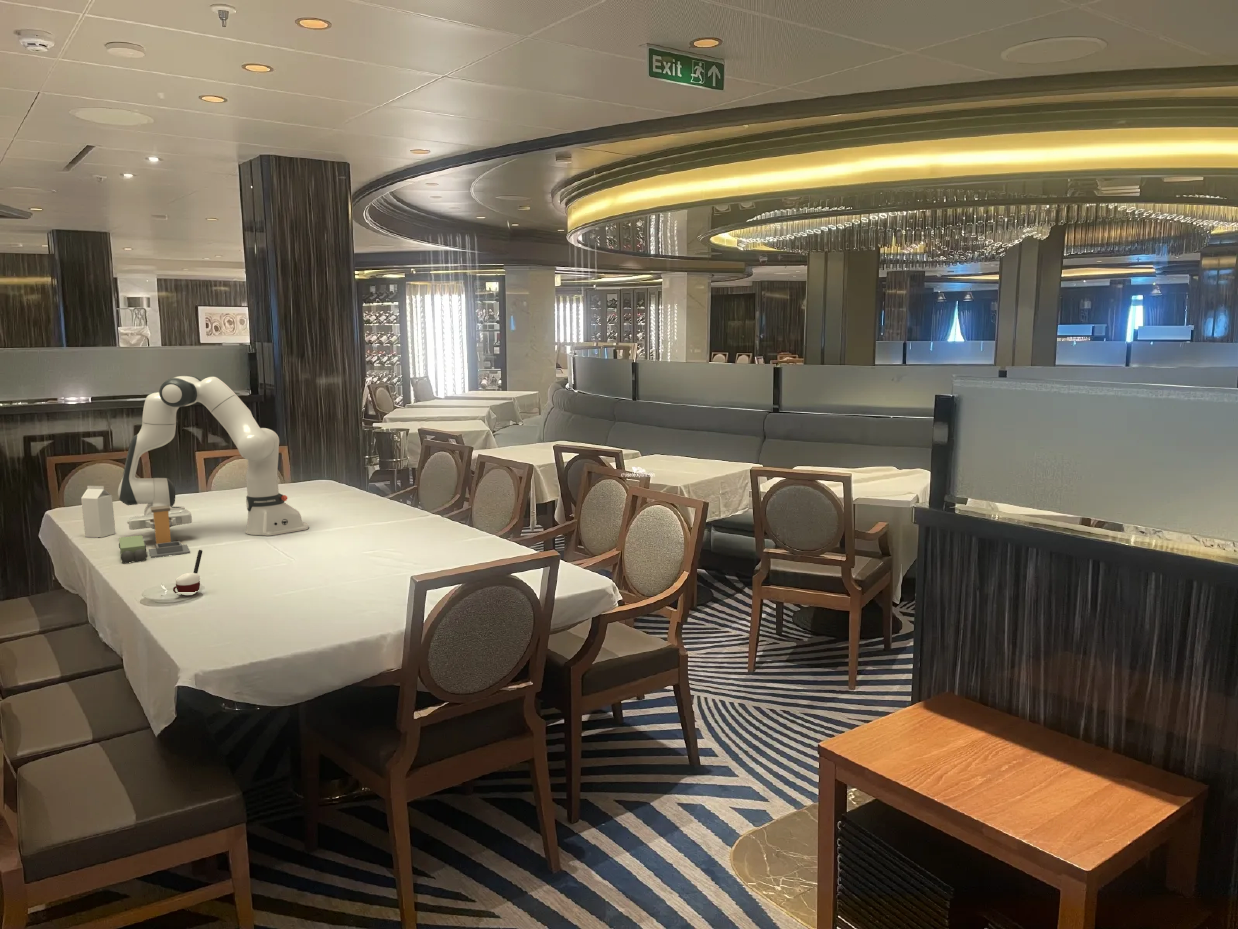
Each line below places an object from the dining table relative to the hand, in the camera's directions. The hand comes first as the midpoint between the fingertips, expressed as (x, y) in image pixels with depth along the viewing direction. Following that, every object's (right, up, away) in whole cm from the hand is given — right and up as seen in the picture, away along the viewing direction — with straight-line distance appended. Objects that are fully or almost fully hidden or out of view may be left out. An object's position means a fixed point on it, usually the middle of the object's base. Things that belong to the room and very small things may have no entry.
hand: (161, 524), depth 306 cm
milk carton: (-33, -6, +19) cm, 39 cm away
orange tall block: (0, -8, +2) cm, 8 cm away
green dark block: (-4, -10, -12) cm, 16 cm away
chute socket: (+6, -9, -7) cm, 13 cm away
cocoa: (+38, -17, -56) cm, 70 cm away
